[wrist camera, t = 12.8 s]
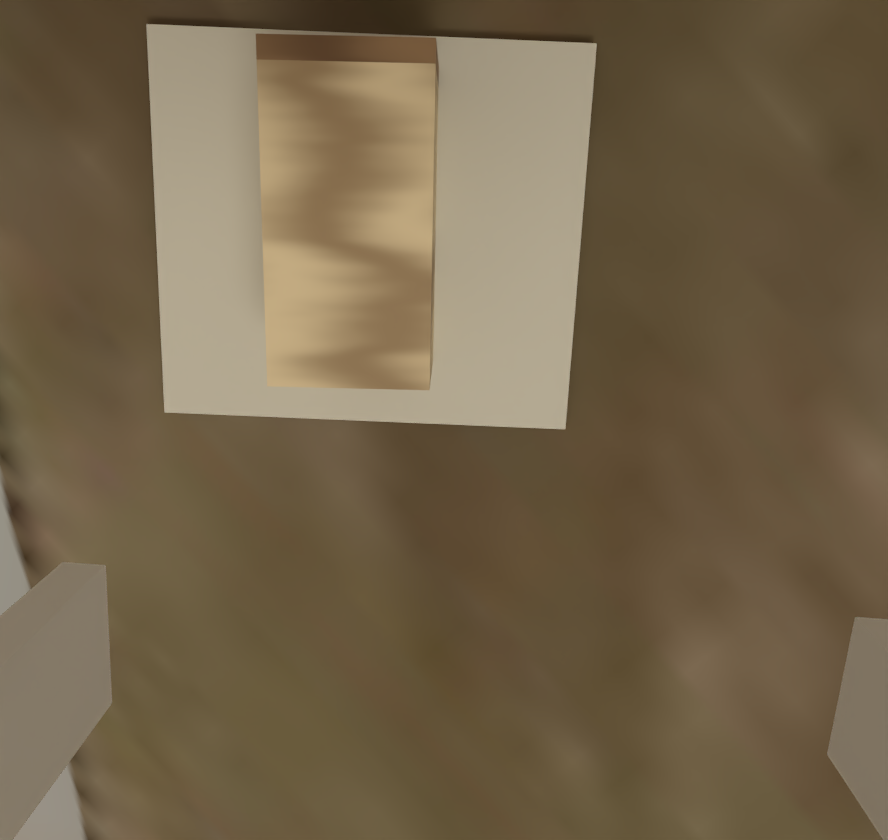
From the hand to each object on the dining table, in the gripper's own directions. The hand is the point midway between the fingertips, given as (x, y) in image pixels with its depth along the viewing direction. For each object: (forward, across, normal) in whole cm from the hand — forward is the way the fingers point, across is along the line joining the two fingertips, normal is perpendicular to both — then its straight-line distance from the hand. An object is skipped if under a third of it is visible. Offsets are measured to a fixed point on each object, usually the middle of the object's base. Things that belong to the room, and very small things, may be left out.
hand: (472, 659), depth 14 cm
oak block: (+20, -5, +1) cm, 20 cm away
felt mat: (+23, -5, +6) cm, 24 cm away
